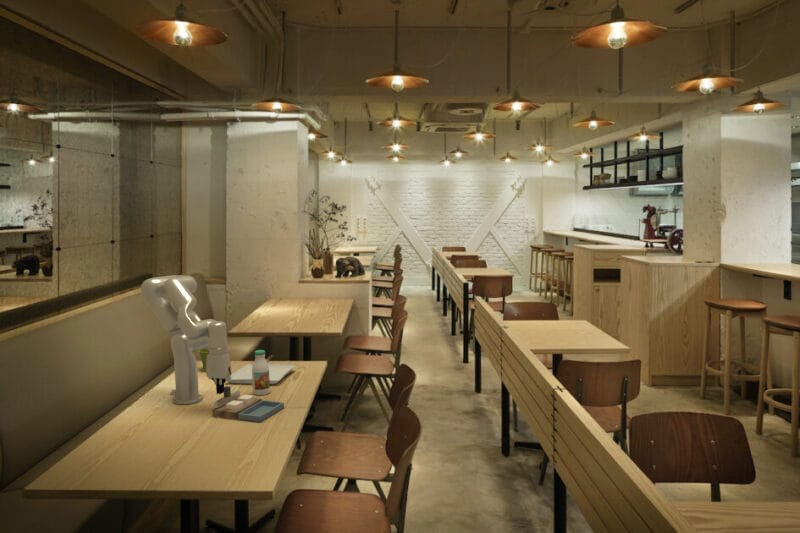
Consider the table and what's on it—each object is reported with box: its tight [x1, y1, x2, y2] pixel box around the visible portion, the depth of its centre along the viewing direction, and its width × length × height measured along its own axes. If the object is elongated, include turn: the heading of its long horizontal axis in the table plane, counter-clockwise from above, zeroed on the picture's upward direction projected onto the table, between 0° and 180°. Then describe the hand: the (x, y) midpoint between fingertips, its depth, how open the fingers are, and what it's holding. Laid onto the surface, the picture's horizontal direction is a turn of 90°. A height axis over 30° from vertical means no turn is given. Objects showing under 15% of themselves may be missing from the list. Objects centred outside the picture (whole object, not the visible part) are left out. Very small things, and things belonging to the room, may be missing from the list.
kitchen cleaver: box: [265, 354, 275, 363], centre depth 332 cm, size 24×1×10 cm
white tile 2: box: [238, 394, 255, 404], centre depth 255 cm, size 5×5×2 cm
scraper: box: [213, 385, 241, 409], centre depth 253 cm, size 2×16×7 cm, turn 160°
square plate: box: [227, 363, 296, 385], centre depth 301 cm, size 27×27×4 cm
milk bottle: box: [251, 349, 271, 396], centre depth 275 cm, size 8×8×20 cm
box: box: [237, 399, 285, 423], centre depth 248 cm, size 11×18×2 cm, turn 160°
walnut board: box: [211, 397, 263, 421], centre depth 252 cm, size 12×18×3 cm, turn 160°
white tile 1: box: [226, 400, 244, 410], centre depth 247 cm, size 5×5×2 cm
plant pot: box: [197, 347, 209, 372], centre depth 316 cm, size 12×12×11 cm
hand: (220, 392), depth 254 cm, fingers closed
